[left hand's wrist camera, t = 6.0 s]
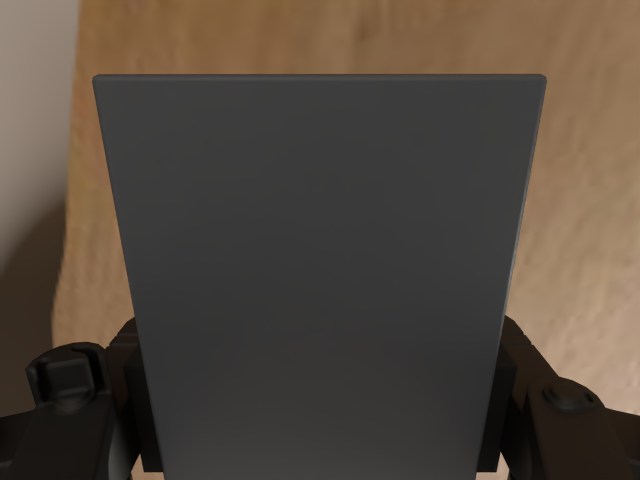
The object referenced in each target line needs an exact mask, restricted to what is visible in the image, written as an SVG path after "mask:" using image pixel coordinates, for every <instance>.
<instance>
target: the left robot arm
mask: <svg viewBox="0 0 640 480" xmlns="http://www.w3.org/2000/svg"><path fill="white" fill-rule="evenodd" d="M25 371H26V374H27V377H28V381H29V384H30V387H31V391H32V394H33V397H34V401H35V404H36V407H35V409H34V410H32V411H28V412H24V413H20V414H15V415H11V416H6V417H1V418H0V480H133V479H132V474H131V471H132V468H133V466H134V464H135V462H136V460H137V458H138V456H139V454H140V455H141V460H142V465H143V470H144V472H163V468H162V463H161V457H160V452H159V446H158V441H157V435H156V430H155V424H154V419H153V413H152V408H151V402H150V397H149V391H148V386H147V380H146V375H145V369H144V364H143V358H142V353H141V347H140V342H139V336H138V331H137V325H136V320H135V317H134V318H132V319H131V320H129V321H128V322H126V324H125V325H124V326H123V327H122V329H121V330H120V331H119V332H118V334H117V336H115V337H114V339H113V340H112V341H111V342H110V344H109V346H107V347H106V349H104V348H103V347H101V346H100V345H99V344H96V343H91V342H78V343H71V344H67V345H63V346H59V347H56V348H54V349H52V350H49V351H47V352H45V353H43V354H42V355H40V356H39V357H37V358H36V359H34V360H33V361H32V362H31V363H30V364H29V365H28V367H27V368H26V369H25ZM500 452H501V453H502V455H503V457H504V459H505V461H506V463H507V465H508V468H509V474H508V479H507V480H640V416H639V415H634V414H629V413H625V412H620V411H616V410H612V409H608V408H605V406H604V405H603V403H602V402H601V400H600V399H599V398H598V396H597V395H596V394H594V393H593V392H592V391H590V390H589V389H588V388H587V387H585V386H583V385H581V384H579V383H577V382H575V381H573V380H569V379H566V378H562V377H559V376H558V375H557V374H556V373H555V371H554V370H553V369H552V368H551V366H550V365H549V364H548V363H547V361H546V360H545V359H544V358H543V356H542V355H541V354H540V353H539V351H538V350H537V349H536V348H535V346H534V345H532V344H531V341H530V340H529V339H528V338H527V336H526V335H524V334H523V331H522V330H521V329H520V328H519V326H518V325H517V324H516V323H515V321H514V320H512V319H511V318H509V317H508V316H506V315H505V317H504V323H503V328H502V334H501V340H500V345H499V351H498V356H497V362H496V367H495V373H494V379H493V384H492V390H491V395H490V401H489V406H488V412H487V418H486V423H485V429H484V434H483V440H482V445H481V451H480V457H479V462H478V468H477V472H497V467H498V462H499V457H500Z"/></svg>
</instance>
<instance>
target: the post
mask: <svg viewBox="0 0 640 480" xmlns="http://www.w3.org/2000/svg"><path fill="white" fill-rule="evenodd" d="M546 83H547V80H546V77H545V76H544V75H541V74H98V75H96V76H94V77H93V80H92V84H93V89H94V95H95V100H96V106H97V111H98V117H99V122H100V128H101V133H102V139H103V144H104V150H105V155H106V161H107V166H108V172H109V177H110V183H111V188H112V194H113V199H114V205H115V210H116V216H117V221H118V227H119V232H120V238H121V243H122V249H123V254H124V260H125V265H126V271H127V276H128V281H129V287H130V292H131V298H132V303H133V309H134V314H135V320H136V325H137V331H138V336H139V342H140V347H141V353H142V358H143V364H144V369H145V375H146V380H147V386H148V391H149V397H150V402H151V408H152V413H153V419H154V424H155V430H156V435H157V441H158V446H159V452H160V457H161V463H162V468H163V474H164V479H165V480H475V479H476V473H477V468H478V462H479V457H480V451H481V445H482V440H483V434H484V429H485V423H486V418H487V412H488V406H489V401H490V395H491V390H492V384H493V379H494V373H495V367H496V362H497V356H498V351H499V345H500V340H501V334H502V328H503V323H504V317H505V312H506V306H507V301H508V295H509V289H510V284H511V278H512V273H513V267H514V262H515V256H516V250H517V245H518V239H519V234H520V228H521V223H522V217H523V211H524V206H525V200H526V195H527V189H528V184H529V178H530V172H531V167H532V161H533V156H534V150H535V145H536V139H537V133H538V128H539V122H540V117H541V111H542V106H543V100H544V94H545V89H546Z"/></svg>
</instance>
